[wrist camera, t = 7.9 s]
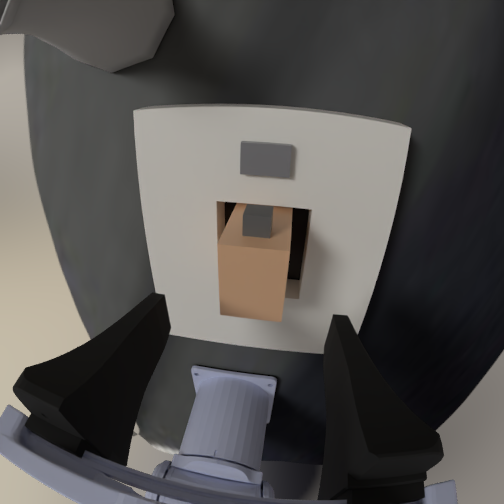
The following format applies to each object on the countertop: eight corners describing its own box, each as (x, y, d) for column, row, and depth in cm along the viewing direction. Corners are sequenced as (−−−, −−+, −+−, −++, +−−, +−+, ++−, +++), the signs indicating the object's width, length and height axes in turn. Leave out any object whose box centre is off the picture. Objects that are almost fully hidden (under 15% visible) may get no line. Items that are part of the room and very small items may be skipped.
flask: (188, -37, 10) (87, -109, 2) (167, 73, 14) (37, 83, 6) (86, -21, 11) (-31, -39, 2) (71, 75, 15) (-55, 105, 6)
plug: (287, 255, 19) (281, 322, 14) (240, 251, 20) (220, 314, 15) (294, 181, 17) (292, 229, 12) (242, 177, 17) (216, 222, 12)
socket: (347, 336, 22) (350, 359, 20) (172, 315, 24) (163, 337, 22) (399, 122, 14) (413, 129, 12) (149, 106, 15) (129, 111, 13)
